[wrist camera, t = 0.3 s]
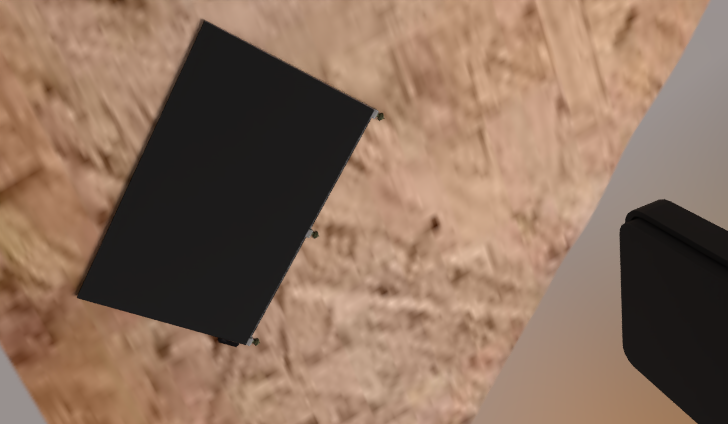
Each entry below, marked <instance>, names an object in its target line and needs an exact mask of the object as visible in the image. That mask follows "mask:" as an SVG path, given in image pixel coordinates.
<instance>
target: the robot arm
mask: <svg viewBox="0 0 728 424" xmlns="http://www.w3.org/2000/svg"><path fill="white" fill-rule="evenodd" d="M620 262H621V263H620V265H621V299H622V333H623V334H622V337H623V349H624V352H625V355H626V356H627V358H628V360H629V361H630V363H631V364H632V365H633V366H634V367H635V368H636V369H637V370H638V371H639V372H640V373H642V374H643V375H644V376H645V377H646V378H647V379H648V380H649V381H651V382H652V383H653V384H654V385H655V386H656V387H657V388H658V389H659V390H661V391H662V392H663V393H664V394H665V395H666V396H667V397H668V398H670V399H671V400H672V401H673V402H674V403H675V404H676V405H677V406H678V407H680V408H681V409H682V410H683V411H684V412H685V413H686V414H687V415H689V416H690V417H691V418H692V419H693V420H694V421H695V422H696V423H698V424H728V231H727V230H725V229H723V228H721V227H719V226H717V225H715V224H713V223H711V222H709V221H707V220H705V219H703V218H701V217H700V216H697V215H696V214H694V213H692V212H690V211H688V210H686V209H684V208H682V207H680V206H678V205H676V204H674V203H672V202H671V201H668V200H665V199H664V200H657V201H655V202H652V203H650V204H647V205H645V206H642V207H640V208H637V209H635V210H633V211H631V212H629V213H628V214H627V216H626V219H625V224H623V225H622V226H621V228H620Z"/></svg>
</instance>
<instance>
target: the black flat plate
mask: <svg viewBox="0 0 728 424" xmlns="http://www.w3.org/2000/svg"><path fill="white" fill-rule="evenodd" d="M378 112H379V111H378V110H376V109H373V108H371V107H369V106H367V105H366V104H364V103H362V102H360V101H358V100H356V99H354V98H352V97H350V96H348V95H346V94H345V93H343V92H341V91H339V90H337V89H335V88H333V87H331V86H329V85H327V84H325V83H324V82H322V81H320V80H318V79H316V78H314V77H312V76H310V75H308V74H306V73H304V72H303V71H301V70H299V69H297V68H295V67H293V66H291V65H289V64H287V63H285V62H283V61H281V60H280V59H278V58H276V57H274V56H272V55H270V54H268V53H266V52H264V51H262V50H260V49H259V48H257V47H255V46H253V45H251V44H249V43H247V42H245V41H243V40H241V39H239V38H238V37H236V36H234V35H232V34H230V33H228V32H226V31H224V30H222V29H220V28H218V27H217V26H215V25H213V24H211V23H209V22H207V21H204V23H203V25H202V28H201V30H200V32H199V34H198V36H197V38H196V41H195V43H194V45H193V47H192V49H191V51H190V54H189V56H188V58H187V60H186V62H185V64H184V67H183V69H182V71H181V73H180V75H179V77H178V79H177V82H176V84H175V86H174V88H173V90H172V92H171V95H170V97H169V99H168V101H167V103H166V105H165V108H164V110H163V112H162V114H161V116H160V118H159V121H158V123H157V125H156V127H155V129H154V131H153V134H152V136H151V138H150V140H149V142H148V144H147V147H146V149H145V151H144V153H143V155H142V157H141V160H140V162H139V164H138V166H137V168H136V170H135V172H134V175H133V177H132V179H131V181H130V183H129V185H128V188H127V190H126V192H125V194H124V196H123V198H122V201H121V203H120V205H119V207H118V209H117V211H116V214H115V216H114V218H113V220H112V222H111V224H110V227H109V229H108V231H107V233H106V235H105V237H104V240H103V242H102V244H101V246H100V248H99V250H98V253H97V255H96V257H95V259H94V261H93V263H92V265H91V268H90V270H89V272H88V274H87V276H86V278H85V281H84V283H83V285H82V287H81V289H80V291H79V294H78V296H77V298H79V299H82V300H86V301H90V302H93V303H97V304H100V305H104V306H107V307H111V308H115V309H118V310H122V311H125V312H129V313H133V314H136V315H140V316H143V317H147V318H151V319H154V320H158V321H161V322H165V323H169V324H172V325H176V326H179V327H183V328H186V329H190V330H194V331H197V332H201V333H204V334H208V335H212V336H215V337H219V338H218V341H219V342H220V343H223V344H227V345H230V346H234V347H237V346H238V345H239V343H240V344H244V345H248V346H250V345H251V343H253V342H254V344H255V346H256V345H258V343H260V342H259V339H256V340H255V341H254V340H253V337H252V335H253V333H254V331H255V330H256V328H257V326H258V324H259V322H260V320H261V319H262V317H263V315H264V313H265V311H266V309H267V308H268V306H269V304H270V302H271V300H272V299H273V297H274V295H275V293H276V291H277V289H278V288H279V286H280V284H281V282H282V280H283V278H284V277H285V275H286V273H287V271H288V269H289V268H290V266H291V264H292V262H293V260H294V258H295V257H296V255H297V253H298V251H299V249H300V247H301V246H302V244H303V242H304V240H305V238H306V237H308V238H310V236H311V235H313V237H314V239H315V238H317V237H318V232H315V233H313V230H312V229H311V227H312V226H313V224H314V222H315V220H316V218H317V216H318V215H319V213H320V211H321V209H322V207H323V206H324V204H325V202H326V200H327V198H328V196H329V195H330V193H331V191H332V189H333V187H334V185H335V184H336V182H337V180H338V178H339V176H340V175H341V173H342V171H343V169H344V167H345V165H346V164H347V162H348V160H349V158H350V156H351V154H352V153H353V151H354V149H355V147H356V145H357V144H358V142H359V140H360V138H361V136H362V134H363V133H364V131H365V129H366V127H367V125H368V123H369V122H370V120H371V118H373V119H375V118H376V117H378V119H379V121H380V120H382V119H384V118H383V117H384V115H383V113H382V114H380V115H379V114H378ZM220 338H222V339H220ZM224 339H226V340H224ZM228 340H230V341H228ZM232 341H233V342H232ZM236 342H237V343H236Z"/></svg>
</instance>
